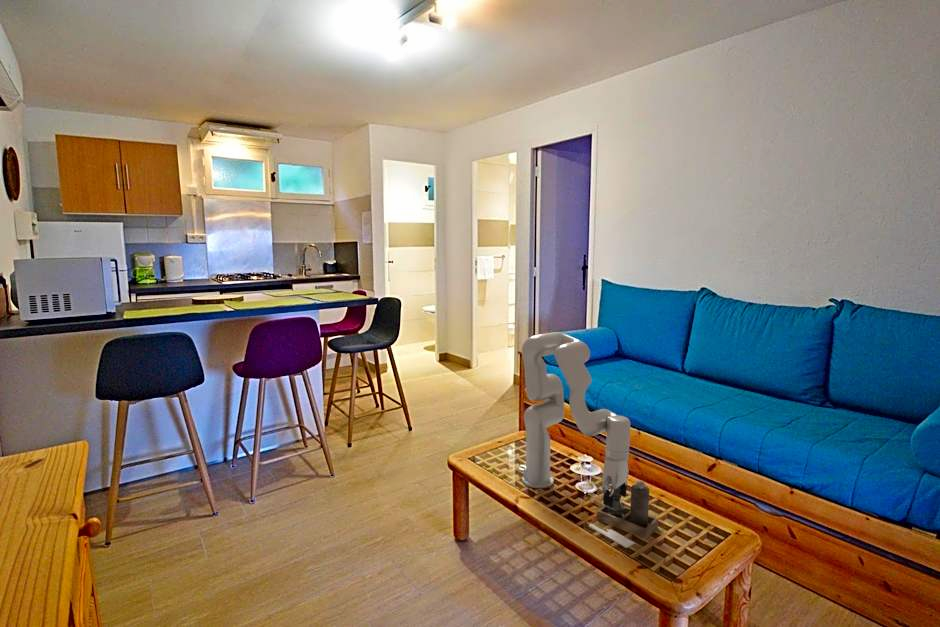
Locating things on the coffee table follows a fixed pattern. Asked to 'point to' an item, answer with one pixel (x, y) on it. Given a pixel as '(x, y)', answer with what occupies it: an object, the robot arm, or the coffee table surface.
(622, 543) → the white plastic blade
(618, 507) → the salt shaker
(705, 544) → the coffee table surface
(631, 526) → the cruet stand
